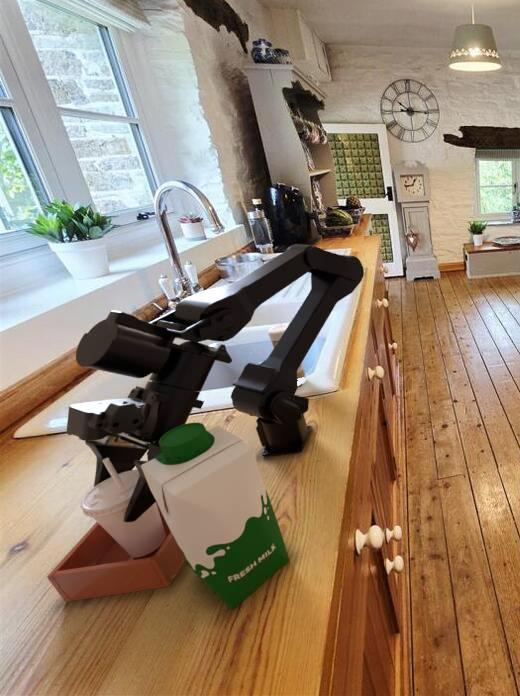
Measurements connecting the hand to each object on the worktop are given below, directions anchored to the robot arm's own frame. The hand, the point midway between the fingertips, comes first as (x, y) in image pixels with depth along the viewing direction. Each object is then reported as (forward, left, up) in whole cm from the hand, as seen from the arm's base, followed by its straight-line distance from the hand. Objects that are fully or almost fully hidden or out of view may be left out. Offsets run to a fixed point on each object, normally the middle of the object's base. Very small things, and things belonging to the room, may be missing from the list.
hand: (112, 513), depth 49 cm
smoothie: (-1, -1, -7) cm, 7 cm away
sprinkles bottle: (-7, -40, -8) cm, 41 cm away
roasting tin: (-1, -1, -8) cm, 8 cm away
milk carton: (-15, +4, -8) cm, 17 cm away
